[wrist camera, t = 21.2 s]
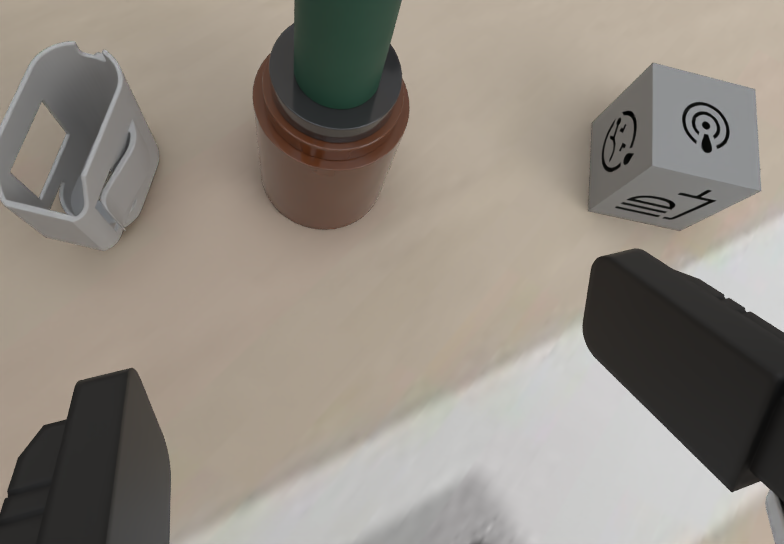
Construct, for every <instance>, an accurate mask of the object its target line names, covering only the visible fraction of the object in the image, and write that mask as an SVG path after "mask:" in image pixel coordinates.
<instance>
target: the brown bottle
mask: <svg viewBox="0 0 784 544" xmlns="http://www.w3.org/2000/svg"><path fill="white" fill-rule="evenodd" d="M253 105H254V114H255V123H256V132H257V141H258V150H259V159H260V169H261V178H262V183H263V187H264V190H265V192H266V194H267V196H268V198H269V200H270V201H271V203H272V204H273V205H274V206H275V208H276V209H277V210H278V211H279V212H280V213H281V214H283V215H284V216H285V217H287V218H288V219H290V220H292V221H293V222H295V223H298V224H300V225H302V226H306V227H309V228H315V229H336V228H340V227H344V226H347V225H350V224H352V223H354V222H356V221H357V220H359V219H360V218H362V217H363V216H364V215H365V214H366V213H367V212H369V210H370V209H371V208H372V207H373V205H374V204H375V202H376V200H377V199H378V196H379V194H380V191H381V189H382V186H383V184H384V181H385V179H386V176H387V174H388V171H389V169H390V166H391V164H392V161H393V159H394V156H395V154H396V151H397V149H398V146H399V144H400V141H401V139H402V136H403V134H404V131H405V129H406V126H407V122H408V118H409V97H408V92H407V89H406V86H405V83H404V81H403V79H402V70H401V65H400V62H399V59H398V56H397V54H396V52H395V50H394V49H393V47H392V46H391V44H390V46H389V50H388V53H387V57H386V61H385V65H384V68H383V72H382V76H381V80H380V83H379V86H378V89H377V91H376V92H375V94H374V95H373V96H372V97H371V98H370V99H369V100H368V101H367V102H365V103H363V104H362V105H360V106H357V107H354V108H350V109H333V108H328V107H325V106H322V105H320V104H318V103H316V102H314V101H313V100H311V99H310V98H309V97H308V96H307V95H306V94H305V93H304V92H303V91H302V90H301V88H300V87H299V85H298V83H297V81H296V79H295V75H294V24H292V25H291V26H289V27H288V28H287V29H286V30H285V31H284V32H283V33H282V34H281V35H280V36H279V38H278V39H277V40H276V42H275V44H274V46H273V48H272V51H271V53H270V54H269V55H268V56H267V58H266V59H265V60H264V61H263V63H262V64H261V66H260V68H259V70H258V72H257V75H256V78H255V81H254V86H253Z"/></svg>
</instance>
